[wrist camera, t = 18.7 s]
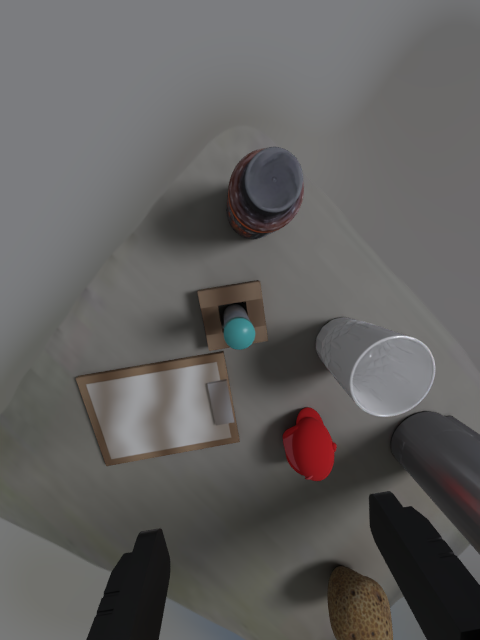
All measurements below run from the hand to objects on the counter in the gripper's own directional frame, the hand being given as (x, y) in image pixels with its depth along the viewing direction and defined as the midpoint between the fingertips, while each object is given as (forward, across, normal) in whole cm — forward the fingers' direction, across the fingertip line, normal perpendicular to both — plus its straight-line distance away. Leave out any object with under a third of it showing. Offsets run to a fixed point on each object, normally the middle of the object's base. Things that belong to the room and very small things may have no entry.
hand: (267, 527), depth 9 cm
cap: (+22, -7, +14) cm, 27 cm away
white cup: (+22, -13, +2) cm, 26 cm away
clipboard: (+22, +11, +7) cm, 25 cm away
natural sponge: (+23, -12, +42) cm, 49 cm away
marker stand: (+22, 0, -4) cm, 22 cm away
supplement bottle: (+22, -4, -15) cm, 27 cm away
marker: (+22, 0, -4) cm, 22 cm away
